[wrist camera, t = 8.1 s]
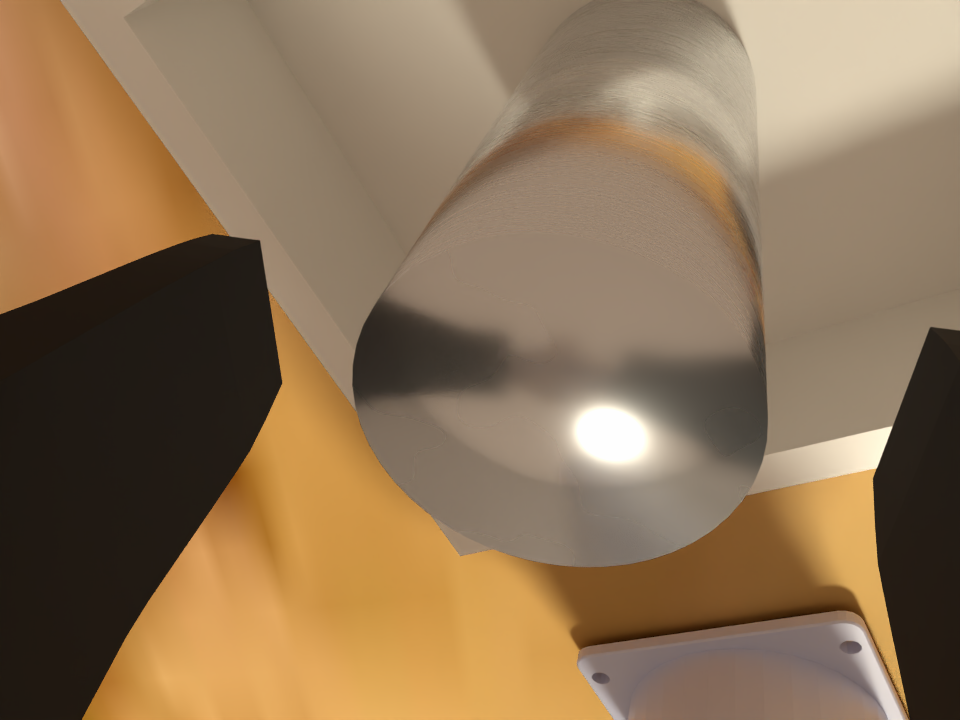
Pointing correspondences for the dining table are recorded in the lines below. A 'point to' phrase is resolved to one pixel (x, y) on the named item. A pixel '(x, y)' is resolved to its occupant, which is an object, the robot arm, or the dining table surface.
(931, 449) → the robot arm
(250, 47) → the bin
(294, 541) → the dining table surface
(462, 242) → the metal cylinder
